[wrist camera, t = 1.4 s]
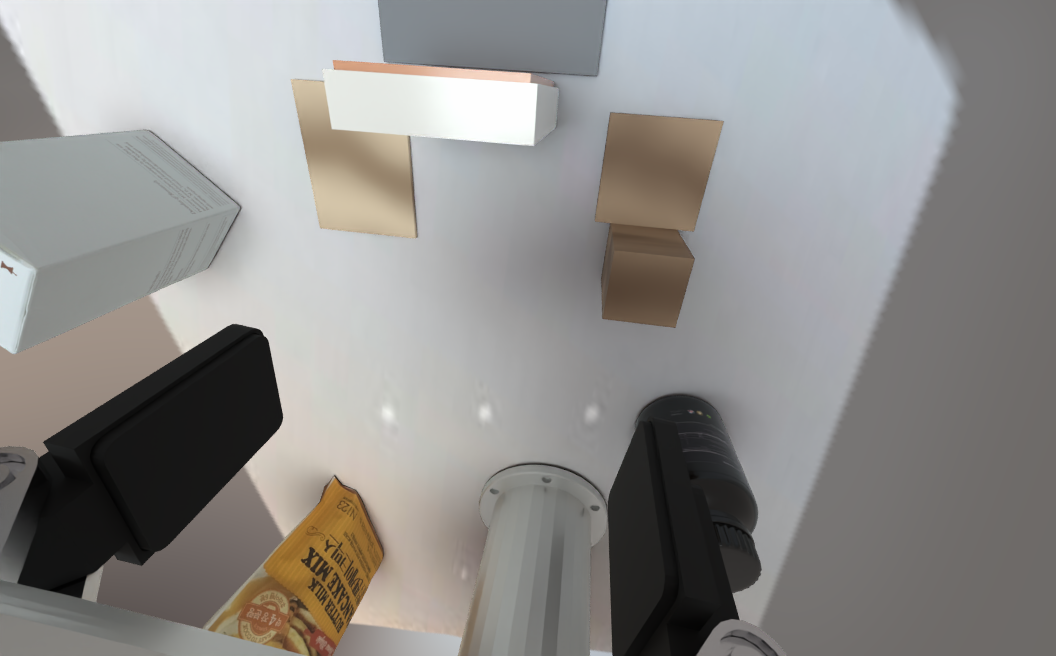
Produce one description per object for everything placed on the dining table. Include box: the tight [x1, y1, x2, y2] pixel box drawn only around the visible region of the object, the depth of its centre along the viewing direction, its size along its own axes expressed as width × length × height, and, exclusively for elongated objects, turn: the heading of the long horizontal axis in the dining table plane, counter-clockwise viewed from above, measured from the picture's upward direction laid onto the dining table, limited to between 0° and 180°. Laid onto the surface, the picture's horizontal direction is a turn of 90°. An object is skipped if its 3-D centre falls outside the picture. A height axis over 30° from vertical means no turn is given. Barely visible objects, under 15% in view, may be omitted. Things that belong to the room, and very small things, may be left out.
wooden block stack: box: [595, 113, 724, 328], centre depth 23 cm, size 10×6×6 cm, turn 176°
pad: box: [291, 79, 417, 239], centre depth 26 cm, size 9×7×1 cm
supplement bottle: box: [635, 396, 762, 593], centre depth 28 cm, size 7×7×12 cm
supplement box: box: [0, 130, 240, 354], centre depth 24 cm, size 7×7×13 cm
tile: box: [322, 60, 559, 146], centre depth 19 cm, size 2×8×10 cm, turn 86°
